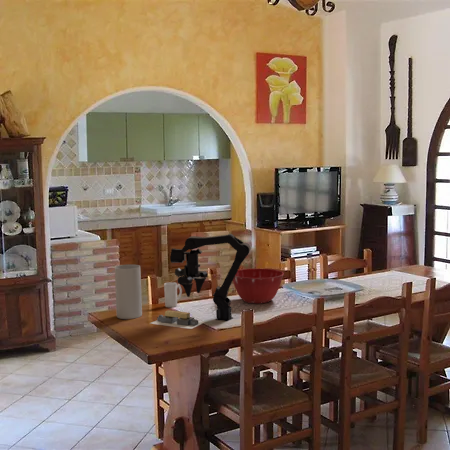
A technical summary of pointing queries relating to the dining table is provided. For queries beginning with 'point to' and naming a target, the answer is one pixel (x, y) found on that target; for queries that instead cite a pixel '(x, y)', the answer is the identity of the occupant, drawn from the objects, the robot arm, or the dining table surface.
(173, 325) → the mat
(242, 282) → the mixing bowl
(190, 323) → the chain ends
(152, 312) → the dining table surface
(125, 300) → the cylinder vase
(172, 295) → the mug
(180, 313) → the master link
